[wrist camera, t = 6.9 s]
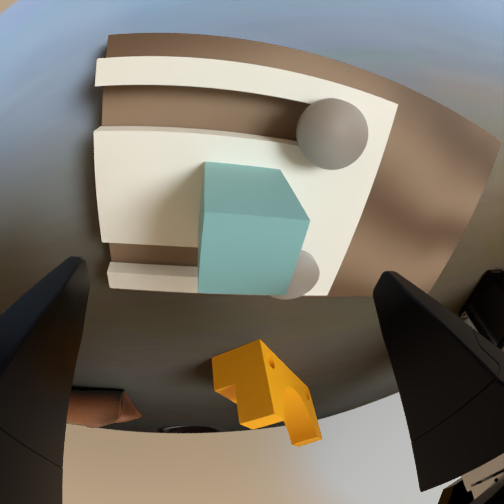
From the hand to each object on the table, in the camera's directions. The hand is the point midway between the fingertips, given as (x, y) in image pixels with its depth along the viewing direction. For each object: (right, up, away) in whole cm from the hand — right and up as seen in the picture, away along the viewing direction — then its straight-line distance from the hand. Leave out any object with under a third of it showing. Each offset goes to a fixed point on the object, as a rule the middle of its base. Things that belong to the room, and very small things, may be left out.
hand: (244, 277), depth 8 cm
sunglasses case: (-21, -16, +18) cm, 32 cm away
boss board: (+4, +4, +7) cm, 9 cm away
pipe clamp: (+2, -11, +18) cm, 21 cm away
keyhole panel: (0, +3, +5) cm, 6 cm away
